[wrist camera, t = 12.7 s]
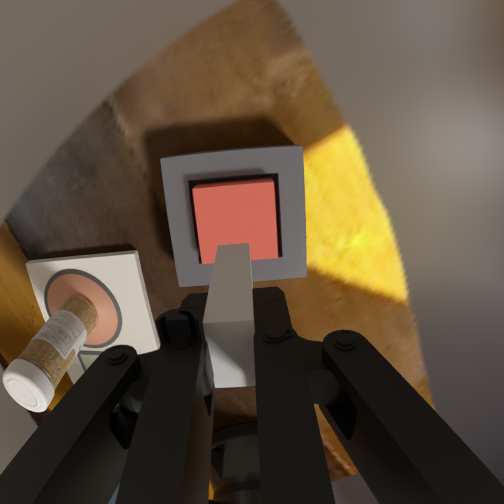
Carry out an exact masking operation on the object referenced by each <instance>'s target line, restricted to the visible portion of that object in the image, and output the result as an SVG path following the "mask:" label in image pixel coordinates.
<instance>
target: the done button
mask: <svg viewBox="0 0 504 504" xmlns="http://www.w3.org/2000/svg"><path fill="white" fill-rule="evenodd" d="M192 190H193V198H194V206H195V215H196V222H197V230H198V238H199V245H200V252H201V260H202V264H210V263H214V261H215V256H216V251H217V246H218V245H229V244H241V243H249V248H250V260H260V259H272V258H278V246H277V226H276V208H275V191H274V181H273V180H272V178H271V177H258V178H245V179H233V180H222V181H212V182H202V183H197V184H196V186H195V187H194V188H193V189H192Z"/></svg>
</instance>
